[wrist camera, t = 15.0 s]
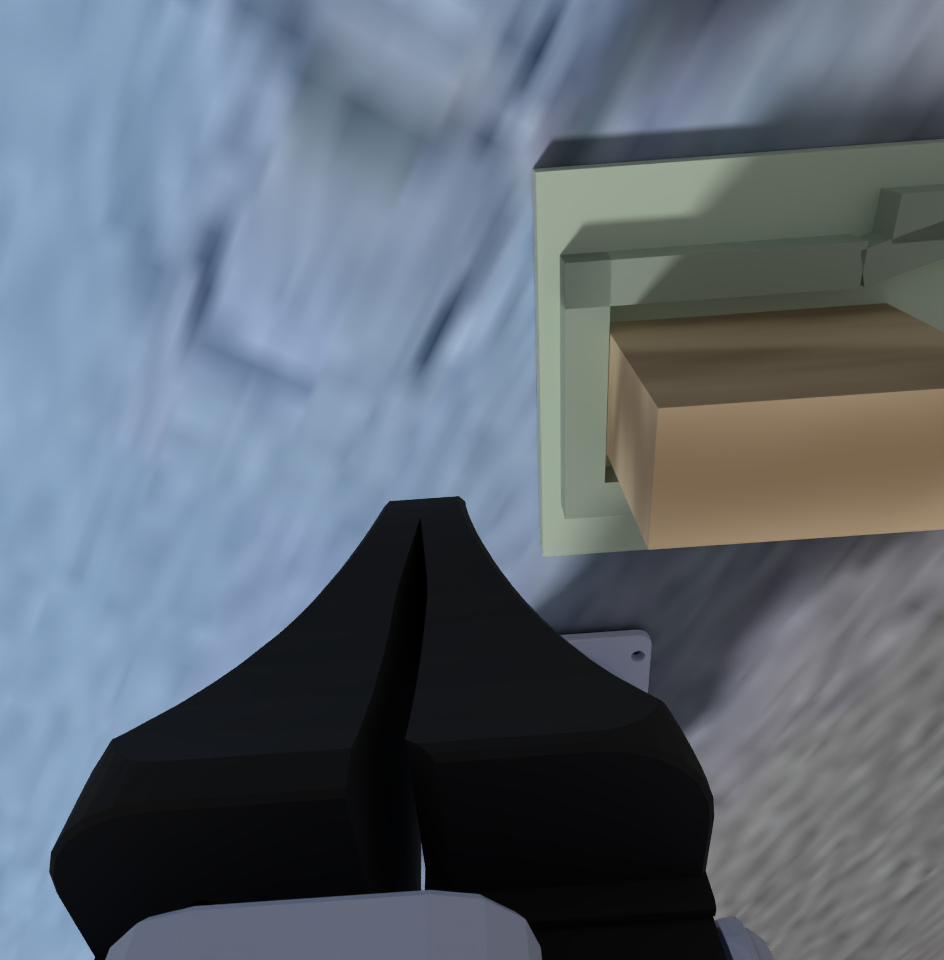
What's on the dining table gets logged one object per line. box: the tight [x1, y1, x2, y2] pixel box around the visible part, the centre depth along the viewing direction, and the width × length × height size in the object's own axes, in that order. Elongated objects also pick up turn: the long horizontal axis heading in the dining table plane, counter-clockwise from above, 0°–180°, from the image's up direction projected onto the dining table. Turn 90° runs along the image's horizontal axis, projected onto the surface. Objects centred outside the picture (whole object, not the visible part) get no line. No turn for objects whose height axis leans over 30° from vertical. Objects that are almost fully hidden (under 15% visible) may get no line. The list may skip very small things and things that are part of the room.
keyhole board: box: [533, 139, 944, 557], centre depth 21 cm, size 12×19×2 cm, turn 94°
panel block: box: [606, 303, 944, 550], centre depth 18 cm, size 4×8×6 cm, turn 94°
